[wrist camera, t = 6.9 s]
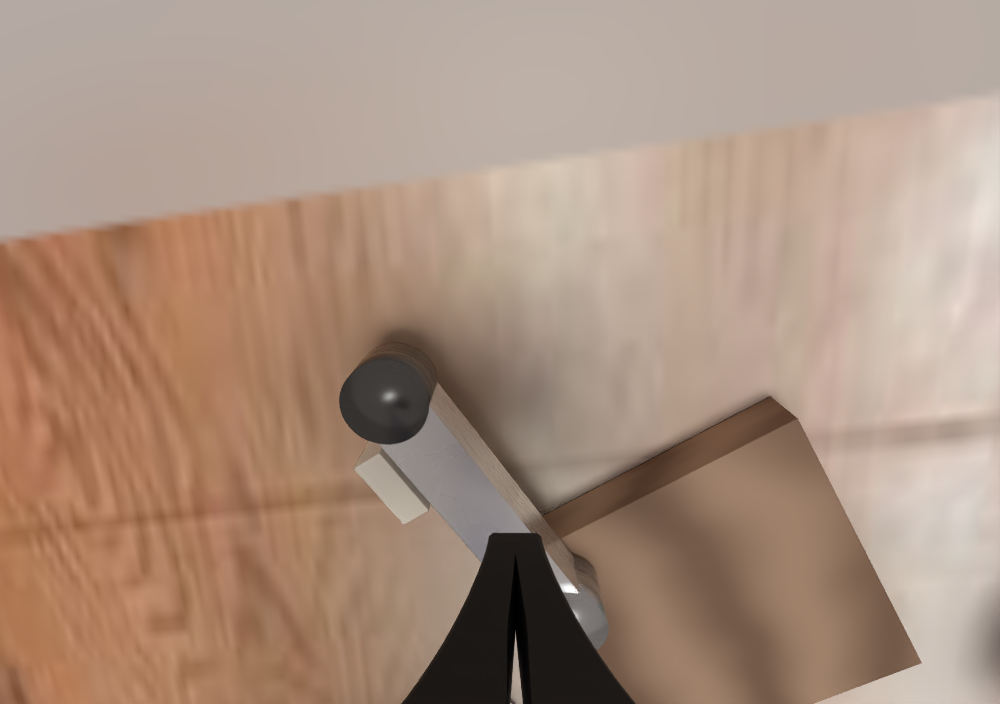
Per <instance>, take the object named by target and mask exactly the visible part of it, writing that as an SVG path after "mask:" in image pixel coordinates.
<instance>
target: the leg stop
mask: <svg viewBox="0 0 1000 704" xmlns="http://www.w3.org/2000/svg"><path fill="white" fill-rule="evenodd" d="M354 470H355V471H356V472H357V473H358V474H359V475H360V476H361V478H362V479H363V480H364V481H365V482H366V483H367V484H368V485H369V486H370V488H371V489H372V490H373V491H374V492H375V493H376V494H377V495H378V496H379V498H380V499H381V500H382V501H383V502H384V503H385V504H386V505H387V506H388V508H389V509H390V510H391V511H392V512H393V513H394V514H395V515H396V517H397V518H398V519H399V520H400V521H401V522H402V523H403V524H406V523H408V522H409V521H411V520H413V519H415V518H417V517H418V516H420V515H422V514H424V513H425V512H427V511H429V508H430V503H429V501H428V500H427V499H426V498H425V497H424V496H423V494H422V493H421V492H420V491H419V490H418V489H417V488H416V486H415V485H414V484H413V483H412V482H411V481H410V479H409V478H408V477H407V476H406V475H405V474H404V473H403V471H402V470H401V469H400V468H399V467H398V466H397V464H396V463H395V462H394V461H393V460H392V459H391V458H390V456H389V455H388V454H387V453H386V452H385V451H384V449H383V448H382V447H381V446H380V445H379V444H378V443H374V442H371V441H369V442H368V443H367V445H366V447H365V449H364V451H363V453H362V454H361V456H360V458H359V460H358V462H357V464H356V465H355V467H354Z"/></svg>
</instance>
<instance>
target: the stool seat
mask: <svg viewBox="0 0 1000 704" xmlns="http://www.w3.org/2000/svg"><path fill="white" fill-rule="evenodd" d="M542 517H543V518H544V519H545V521H546V522H547V523H548V524H549V526H550V527H551V528H552V529H553V531H554V532H555V533H556V535H557V536H558V537H559V538H560V540H561V541H562V542H563V544H564V545H565V546H566V547H567V549H568V550H569V551H570V553H571V554H572V555H573V556H575V557H578V558H581V559H583V560H585V561H586V562H588V563H589V564H590V565H591V566H592V567H593V568H594V570H595V572H596V574H597V578H598V582H599V587H600V591H601V595H602V600H603V604H604V609H605V613H606V617H607V622H608V627H609V631H608V636H607V639H606V641H605V642H604V644H603V645H602V646H601V647H600V648H599V649H598V650H597V652H598V653H599V655H600V656H601V658H602V659H603V661H604V662H605V664H606V665H607V667H608V668H609V669H610V671H611V672H612V674H613V675H614V676H615V678H616V679H617V680H618V682H619V683H620V684H621V686H622V687H623V688H624V689H625V691H626V692H627V693H628V694H629V696H630V697H631V698H632V699H633V701H634V702H635V703H636V704H814V703H816V702H819V701H822V700H824V699H827V698H830V697H832V696H835V695H838V694H840V693H843V692H846V691H848V690H851V689H854V688H856V687H859V686H862V685H864V684H867V683H870V682H872V681H875V680H878V679H880V678H883V677H886V676H888V675H891V674H894V673H896V672H899V671H902V670H904V669H907V668H910V667H912V666H915V665H918V664H920V663H922V662H921V660H920V659H919V657H918V655H917V653H916V651H915V649H914V647H913V645H912V643H911V641H910V639H909V637H908V635H907V633H906V631H905V629H904V627H903V625H902V623H901V621H900V619H899V617H898V615H897V613H896V611H895V609H894V607H893V605H892V603H891V601H890V599H889V597H888V596H887V594H886V592H885V590H884V588H883V586H882V584H881V582H880V580H879V578H878V576H877V574H876V572H875V570H874V568H873V566H872V564H871V562H870V560H869V558H868V556H867V554H866V552H865V550H864V548H863V546H862V544H861V542H860V540H859V538H858V536H857V534H856V533H855V531H854V529H853V527H852V525H851V523H850V521H849V519H848V517H847V515H846V513H845V511H844V509H843V507H842V505H841V503H840V501H839V499H838V497H837V495H836V493H835V491H834V489H833V487H832V485H831V483H830V481H829V479H828V477H827V475H826V473H825V471H824V469H823V468H822V466H821V464H820V462H819V460H818V458H817V456H816V454H815V452H814V450H813V448H812V446H811V444H810V442H809V440H808V438H807V436H806V434H805V432H804V430H803V428H802V426H801V424H800V422H799V420H798V418H796V417H795V416H794V415H793V414H791V413H790V412H789V411H788V410H786V409H785V408H784V407H783V406H781V405H780V404H779V403H778V402H776V401H775V400H774V399H773V398H772V397H769V398H767V399H765V400H763V401H761V402H759V403H757V404H755V405H753V406H751V407H750V408H748V409H746V410H744V411H742V412H740V413H738V414H736V415H734V416H732V417H731V418H729V419H727V420H725V421H723V422H721V423H719V424H717V425H715V426H713V427H711V428H710V429H708V430H706V431H704V432H702V433H700V434H698V435H696V436H694V437H692V438H690V439H689V440H687V441H685V442H683V443H681V444H679V445H677V446H675V447H673V448H671V449H669V450H668V451H666V452H664V453H662V454H660V455H658V456H656V457H654V458H652V459H650V460H648V461H647V462H645V463H643V464H641V465H639V466H637V467H635V468H633V469H631V470H629V471H627V472H626V473H624V474H622V475H620V476H618V477H616V478H614V479H612V480H610V481H608V482H607V483H605V484H603V485H601V486H599V487H597V488H595V489H593V490H591V491H589V492H587V493H586V494H584V495H582V496H580V497H578V498H576V499H574V500H572V501H570V502H568V503H566V504H565V505H563V506H561V507H559V508H557V509H555V510H553V511H551V512H549V513H547V514H545V515H544V516H542Z"/></svg>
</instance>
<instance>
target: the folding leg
mask: <svg viewBox="0 0 1000 704" xmlns="http://www.w3.org/2000/svg"><path fill="white" fill-rule="evenodd" d="M339 404H340V410H341V413H342V416H343V418H344V420H345V421H346V423H347V424H348V426H349V427H350V428H351V429H352V430H353V431H354V432H355V433H356V434H358V435H359V436H361V437H362V438H364V439H366V440H368V441H371V442H374V443H378V444H379V445H380V446H381V447H382V448H383V449H384V451H385V452H386V453H387V454H388V455H389V456H390V458H391V459H392V460H393V461H394V462H395V463H396V464H397V466H398V467H399V468H400V469H401V470H402V471H403V473H404V474H405V475H406V476H407V477H408V478H409V479H410V481H411V482H412V483H413V484H414V485H415V486H416V488H417V489H418V490H419V491H420V492H421V493H422V494H423V496H424V497H425V498H426V499H427V500H428V501H429V503H430V504H431V505H432V506H433V507H434V508H435V509H436V511H437V512H438V513H439V514H440V515H441V516H442V518H443V519H444V520H445V521H446V522H447V523H448V524H449V526H450V527H451V528H452V529H453V530H454V531H455V533H456V534H457V535H458V536H459V537H460V538H461V540H462V541H463V542H464V543H465V544H466V545H467V546H468V548H469V549H470V550H471V551H472V552H473V553H474V555H475V556H476V557H477V558H478V559H479V560H480V561H481V563H482V560H483V557H484V554H485V551H486V547H487V543H488V538H489V536H490V535H491V534H492V533H538V534H539V535H540V536H541V538H542V542H543V546H544V549H545V552H546V555H547V557H548V560H549V563H550V565H551V567H552V570H553V572H554V575H555V577H556V579H557V581H558V583H559V585H560V587H561V589H562V591H563V593H564V595H565V597H566V599H567V601H568V603H569V605H570V607H571V609H572V611H573V613H574V614H575V616H576V618H577V620H578V621H579V623H580V625H581V627H582V628H583V630H584V632H585V633H586V635H587V636H588V638H589V640H590V641H591V643H592V644H593V646H594V647H595V649H596V650H598V649H599V648H600V647H601V646H602V645H603V644H604V642H605V641H606V639H607V636H608V631H609V627H608V622H607V617H606V613H605V609H604V604H603V600H602V595H601V591H600V587H599V582H598V578H597V574H596V572H595V570H594V568H593V567H592V566H591V565H590V564H589V563H588V562H586V561H585V560H583V559H581V558H578V557H575V556H573V555H572V554H571V553H570V551H569V550H568V549H567V547H566V546H565V545H564V544H563V542H562V541H561V540H560V538H559V537H558V536H557V535H556V533H555V532H554V531H553V529H552V528H551V527H550V526H549V524H548V523H547V522H546V521H545V519H544V518H543V517H542V515H541V514H540V513H539V512H538V510H537V509H536V508H535V506H534V505H533V504H532V503H531V501H530V500H529V499H528V497H527V496H526V495H525V494H524V492H523V491H522V490H521V488H520V487H519V486H518V485H517V483H516V482H515V481H514V479H513V478H512V477H511V476H510V474H509V473H508V472H507V470H506V469H505V468H504V467H503V465H502V464H501V463H500V461H499V460H498V459H497V458H496V456H495V455H494V454H493V452H492V451H491V450H490V449H489V447H488V446H487V445H486V443H485V442H484V441H483V440H482V438H481V437H480V436H479V434H478V433H477V432H476V431H475V429H474V428H473V427H472V426H471V424H470V423H469V422H468V420H467V419H466V418H465V417H464V415H463V414H462V413H461V411H460V410H459V409H458V408H457V406H456V405H455V404H454V402H453V401H452V400H451V399H450V397H449V396H448V395H447V393H446V392H445V391H444V390H443V388H442V387H441V386H440V384H439V383H438V380H437V373H436V370H435V368H434V366H433V364H432V362H431V361H430V359H429V358H428V357H427V356H426V355H425V354H424V353H423V352H421V351H420V350H418V349H417V348H415V347H413V346H410V345H407V344H403V343H388V344H384V345H381V346H378V347H377V348H375V349H373V350H372V351H371V352H369V354H368V355H367V356H366V357H365V358H364V359H363V360H362V362H361V363H360V364H359V365H358V366H357V368H356V369H355V370H354V371H353V372H352V374H351V375H350V376H349V377H348V378H347V380H346V381H345V383H344V384H343V386H342V389H341V392H340V397H339Z"/></svg>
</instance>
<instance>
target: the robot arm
mask: <svg viewBox="0 0 1000 704" xmlns="http://www.w3.org/2000/svg"><path fill="white" fill-rule="evenodd" d="M515 630H516V640H517V650H518V660H519V669H520V679H521V689H522V699H523V704H636V703H635V702H634V701H633V699H632V698H631V697H630V696H629V694H628V693H627V692H626V691H625V689H624V688H623V687H622V686H621V684H620V683H619V682H618V680H617V679H616V678H615V676H614V675H613V674H612V672H611V671H610V669H609V668H608V667H607V665H606V664H605V662H604V661H603V659H602V658H601V656H600V655H599V653H598V652H597V650H596V649H595V647H594V646H593V644H592V643H591V641H590V640H589V638H588V636H587V635H586V633H585V632H584V630H583V628H582V627H581V625H580V623H579V621H578V620H577V618H576V616H575V614H574V613H573V611H572V609H571V607H570V605H569V603H568V601H567V599H566V597H565V595H564V593H563V591H562V589H561V587H560V585H559V583H558V581H557V579H556V577H555V575H554V572H553V570H552V567H551V565H550V563H549V560H548V557H547V555H546V552H545V549H544V546H543V542H542V538H541V536H540V535H539V534H538V533H492V534H491V535H490V536H489V538H488V543H487V547H486V551H485V554H484V557H483V560H482V563H481V566H480V569H479V571H478V574H477V576H476V579H475V581H474V583H473V586H472V588H471V590H470V593H469V595H468V597H467V599H466V601H465V603H464V605H463V607H462V609H461V611H460V613H459V615H458V617H457V619H456V621H455V623H454V625H453V627H452V628H451V630H450V632H449V634H448V635H447V637H446V639H445V641H444V642H443V644H442V646H441V647H440V649H439V650H438V652H437V654H436V655H435V657H434V659H433V660H432V662H431V663H430V665H429V666H428V668H427V669H426V670H425V672H424V673H423V675H422V676H421V678H420V679H419V681H418V682H417V684H416V685H415V686H414V688H413V689H412V691H411V692H410V693H409V695H408V696H407V697H406V699H405V700H404V701H403V702H402V704H512V703H511V702H510V699H511V685H512V672H513V658H514V644H515Z"/></svg>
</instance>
